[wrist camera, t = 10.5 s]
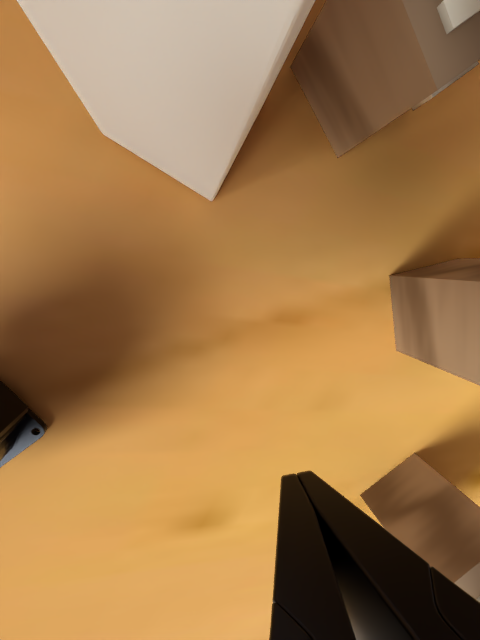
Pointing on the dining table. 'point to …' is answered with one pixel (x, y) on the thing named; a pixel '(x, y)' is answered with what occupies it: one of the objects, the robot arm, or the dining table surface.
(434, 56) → the marked block 2
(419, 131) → the dining table surface
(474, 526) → the marked block 1
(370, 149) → the dining table surface
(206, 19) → the milk carton
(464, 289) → the plain block
